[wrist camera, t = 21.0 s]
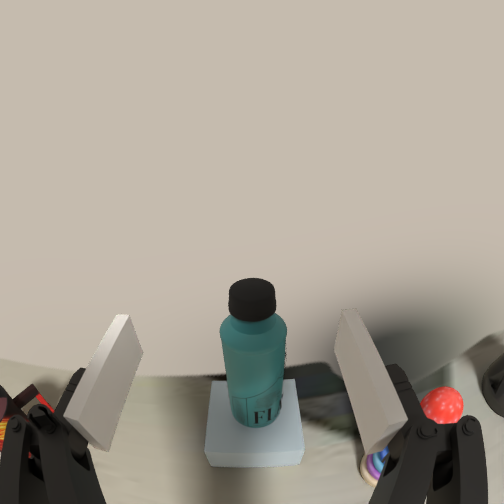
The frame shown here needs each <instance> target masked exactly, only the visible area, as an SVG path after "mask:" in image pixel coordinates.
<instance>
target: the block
mask: <svg viewBox="0 0 504 504" xmlns="http://www.w3.org/2000/svg"><path fill="white" fill-rule="evenodd" d="M227 387H228V384H227V382H226V381H212V386H211V394H210V402H209V411H208V420H207V429H206V438H205V448H204V452H205V455H206V457H207V459H208V461H209V463H210V465H211V466H213V467H242V468H248V467H277V466H291V465H299V464H300V461H301V459H302V456H303V454H304V451H305V446H304V439H303V432H302V425H301V418H300V412H299V405H298V399H297V392H296V386H295V379H288V380H283V386H282V394H283V397H282V398H281V400H282V401H281V403H282V404H281V405H282V407H281V409H282V410H280V413H279V415H278V416H279V417H277V418H276V419H275V421H274V422H272V423H271V424H270V425H268V426H265V427H262V428H250V427H246V426H244V425H242V424H240V423H239V422H238V421H236V420H235V418H234V416H233V414H232V411H231V405H230V399H229V396H228V395H229V393H228V388H227Z"/></svg>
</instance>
